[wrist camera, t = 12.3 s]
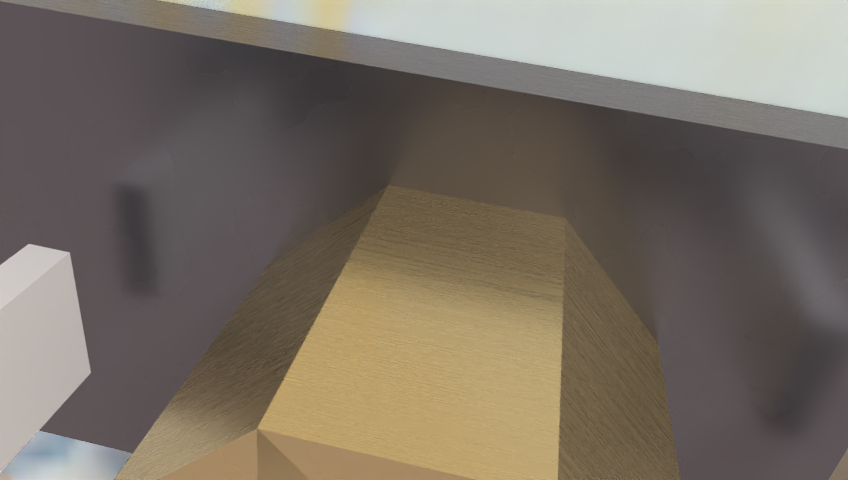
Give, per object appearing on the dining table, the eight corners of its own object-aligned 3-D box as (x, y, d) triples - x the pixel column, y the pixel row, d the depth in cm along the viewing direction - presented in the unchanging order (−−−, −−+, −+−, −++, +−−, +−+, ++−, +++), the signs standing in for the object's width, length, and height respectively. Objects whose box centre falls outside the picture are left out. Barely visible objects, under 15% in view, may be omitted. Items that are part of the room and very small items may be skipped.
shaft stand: (43, 379, 18) (-256, 685, 11) (-49, -35, 13) (-696, 100, 6) (862, 570, 16) (1056, 1072, 9) (1154, 170, 11) (2043, 688, 4)
